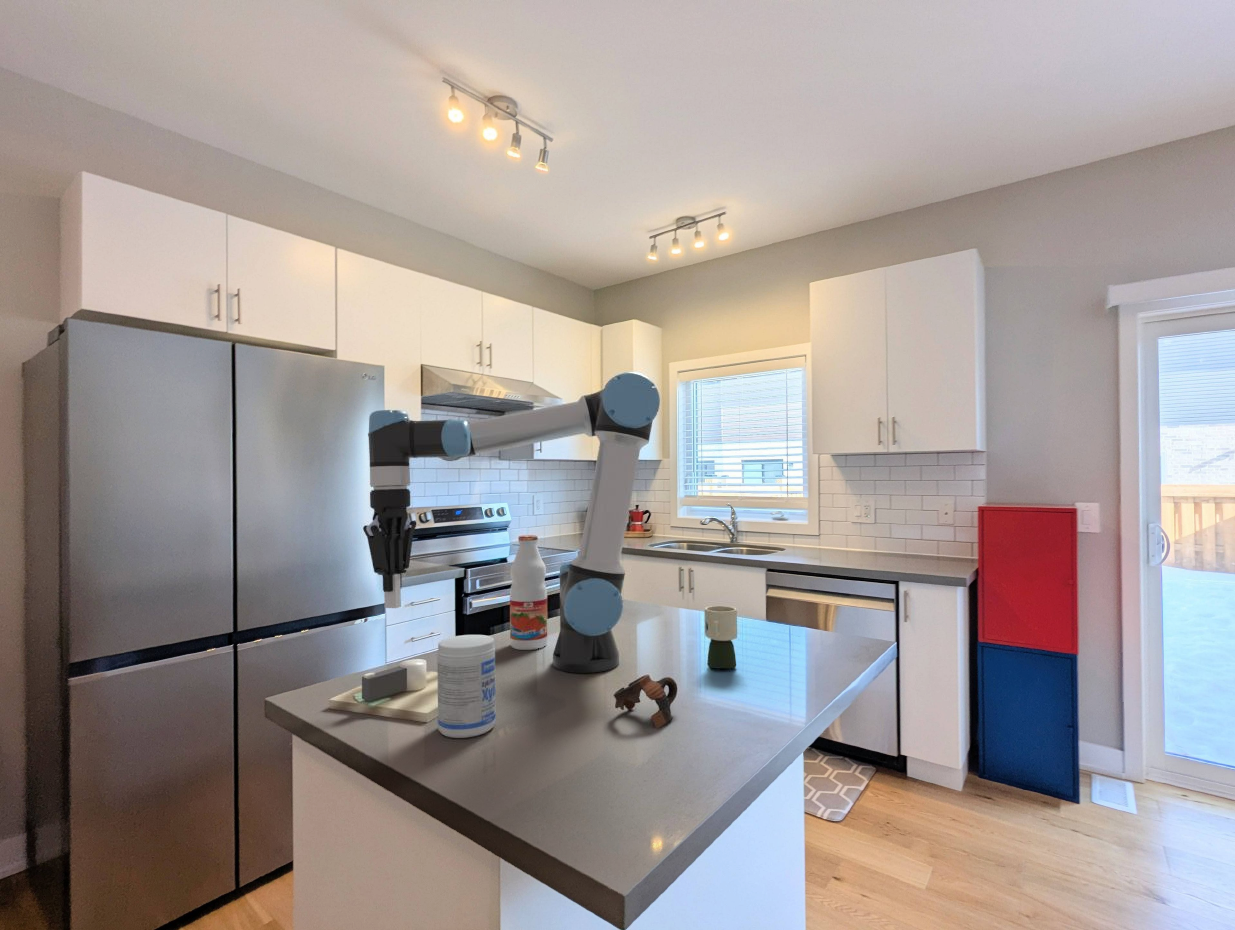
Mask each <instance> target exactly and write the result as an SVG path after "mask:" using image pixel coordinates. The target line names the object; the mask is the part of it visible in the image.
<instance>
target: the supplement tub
mask: <svg viewBox="0 0 1235 930" xmlns="http://www.w3.org/2000/svg"><path fill="white" fill-rule="evenodd" d="M495 648H496V646H495V639H494V638H493V637H492V636H490V635H486V634H485V635H484V634H463V635H455V636H451V637H447V638H444V639H441V640H440V641H439V642H438V646H437V651H436V652H437V653H436V654H437V655H436V657H437V661H436V662H437V663H436V664H437V666H436V667H437V672H438V717H437V729H438V730H439V733H441V734H442V735H444V736H445V737H447V738H452V739H454V738H455V739H465V738H467V739H468V738H472V737H473V738H474V737H477V736H480V735H483V734H486V733H487V732H489V731H490V730H492V729H493V727H494V726H495V725H496V720H497V719H496V717H497V715H496V714H497V713H496V711H497V710H496V707H497V706H496V649H495Z"/></svg>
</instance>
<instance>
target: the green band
mask: <svg viewBox="0 0 1235 930" xmlns="http://www.w3.org/2000/svg"><path fill="white" fill-rule="evenodd" d="M354 698H355V700H356V701H357V702H359V703H361V704H363V705H367V706H371V707H375V706H377V705H379V704H382V703H384V702H386V701H389V700H391V698H388V697H382V698H379V699H376V700H373V701H370V702H369V701H366V700H363V699H362V693H358V694H354Z"/></svg>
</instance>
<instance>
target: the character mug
mask: <svg viewBox="0 0 1235 930" xmlns="http://www.w3.org/2000/svg"><path fill="white" fill-rule="evenodd" d="M704 635H705V637H706V638H708V639H710V641H709V646H708V653H707V667H709V668H712V669H719V670H720V671H721V670H722V669H733V668H736V667H737V657H736V652H735V646H734V641H733V640H735V639H737V638H738V609H737V608H736V607H734V606H731V605H730V606H727V605H710V606H706V607H705V608H704Z"/></svg>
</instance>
